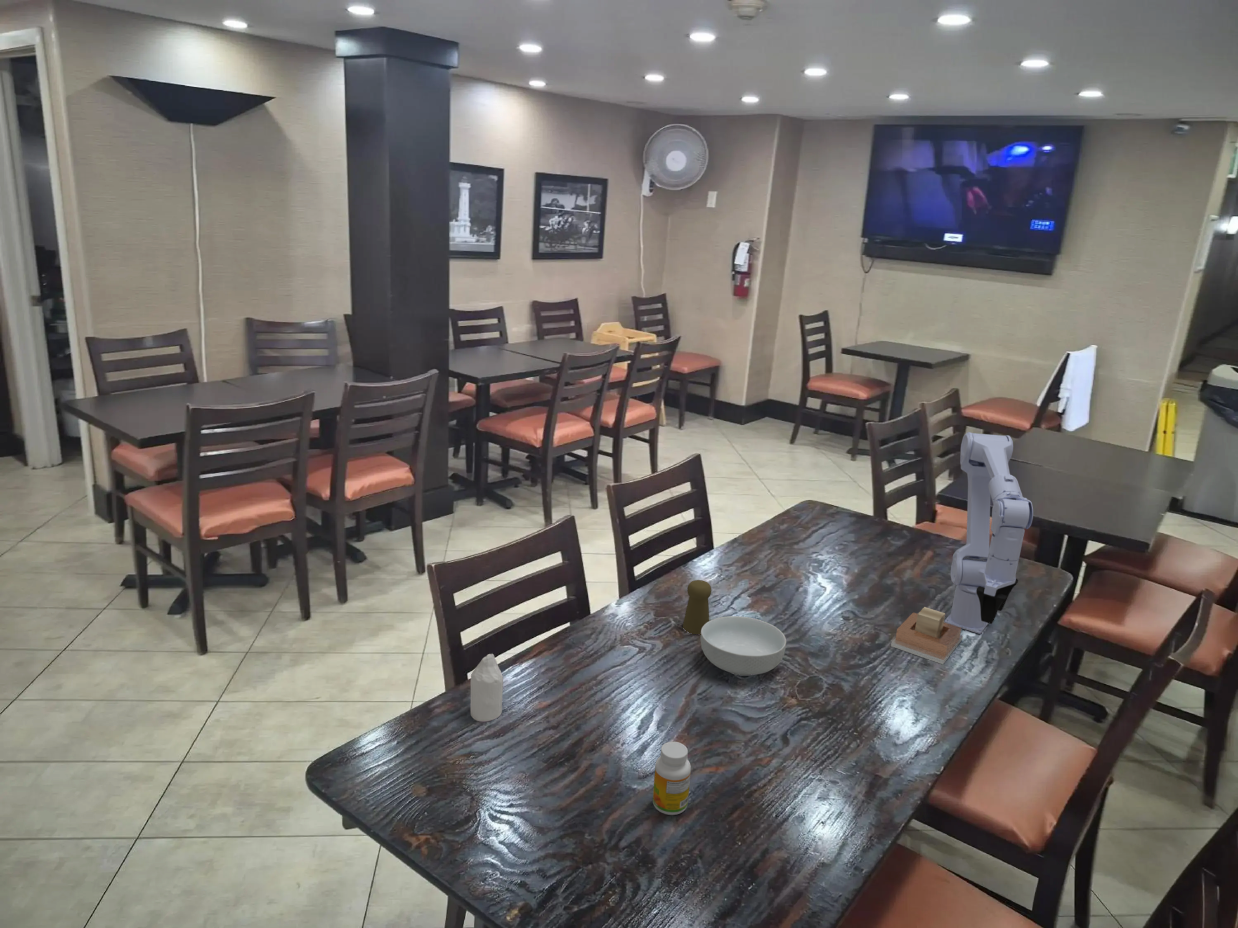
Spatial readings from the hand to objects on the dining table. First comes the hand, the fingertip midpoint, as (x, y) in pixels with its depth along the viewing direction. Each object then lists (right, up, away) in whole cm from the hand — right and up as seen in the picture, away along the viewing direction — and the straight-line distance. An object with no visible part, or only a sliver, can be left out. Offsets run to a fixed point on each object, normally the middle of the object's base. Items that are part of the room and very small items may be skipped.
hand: (991, 615), depth 169 cm
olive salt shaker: (-61, -5, +8) cm, 62 cm away
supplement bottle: (-70, -20, -46) cm, 86 cm away
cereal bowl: (-54, -9, -6) cm, 55 cm away
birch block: (-11, -6, +7) cm, 14 cm away
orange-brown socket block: (-11, -7, +7) cm, 15 cm away
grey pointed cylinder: (-102, -13, -25) cm, 105 cm away
